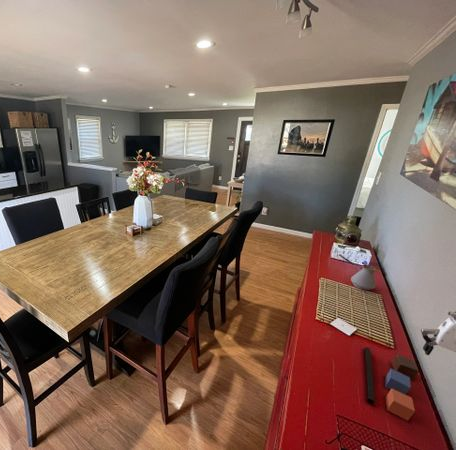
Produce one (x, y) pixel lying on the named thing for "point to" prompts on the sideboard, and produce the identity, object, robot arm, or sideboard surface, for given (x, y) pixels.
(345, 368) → the sideboard surface
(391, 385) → the slate blue block
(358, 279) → the coffee pot
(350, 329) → the coaster
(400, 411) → the terracotta block
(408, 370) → the walnut block
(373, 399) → the rail
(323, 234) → the sideboard surface
